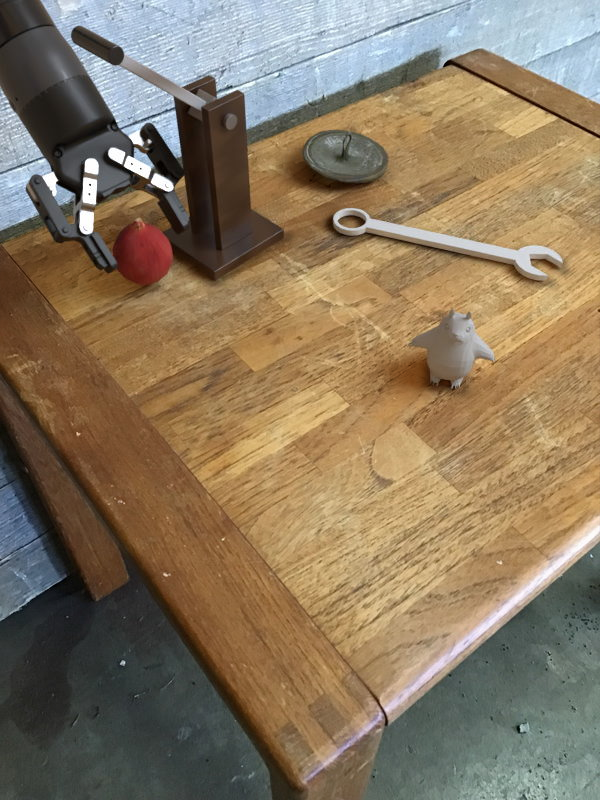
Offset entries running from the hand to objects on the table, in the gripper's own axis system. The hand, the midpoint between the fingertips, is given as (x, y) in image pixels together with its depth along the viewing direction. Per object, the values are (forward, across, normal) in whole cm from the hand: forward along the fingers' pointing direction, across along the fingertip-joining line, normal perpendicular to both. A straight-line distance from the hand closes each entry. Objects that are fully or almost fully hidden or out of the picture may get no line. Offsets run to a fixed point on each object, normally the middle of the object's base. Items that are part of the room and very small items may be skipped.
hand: (149, 250), depth 71 cm
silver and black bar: (-11, +4, -9) cm, 14 cm away
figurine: (+23, +12, -16) cm, 31 cm away
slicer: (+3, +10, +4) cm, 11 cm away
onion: (+3, 0, +5) cm, 6 cm away
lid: (+3, +30, +5) cm, 30 cm away
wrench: (+15, +26, -8) cm, 31 cm away
